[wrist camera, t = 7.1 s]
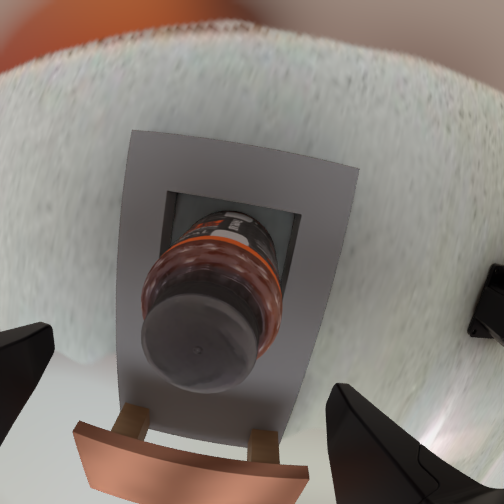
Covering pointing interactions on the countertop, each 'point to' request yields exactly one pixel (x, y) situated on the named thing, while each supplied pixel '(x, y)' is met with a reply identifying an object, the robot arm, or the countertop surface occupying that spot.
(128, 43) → the countertop surface
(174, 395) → the socket plate
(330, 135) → the countertop surface
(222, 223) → the supplement bottle
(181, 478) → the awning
